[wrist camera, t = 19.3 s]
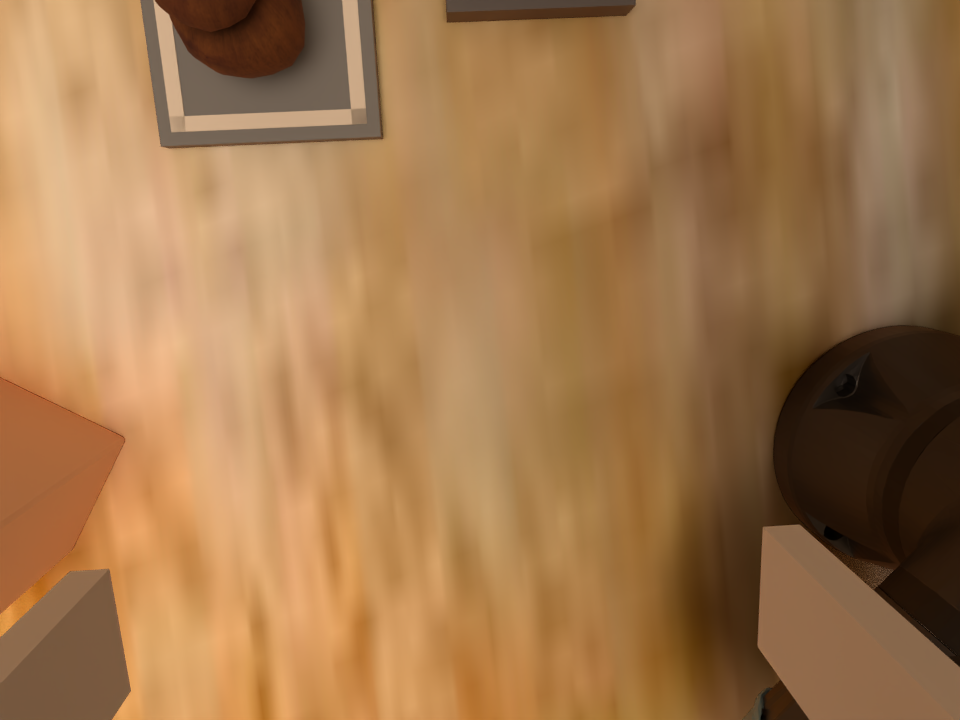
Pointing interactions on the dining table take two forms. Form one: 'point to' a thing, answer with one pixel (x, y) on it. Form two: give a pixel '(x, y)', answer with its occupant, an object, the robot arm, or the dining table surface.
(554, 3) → the ink pad
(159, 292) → the dining table surface
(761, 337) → the dining table surface
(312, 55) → the marked board
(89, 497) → the soap dispenser
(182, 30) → the wooden figurine
